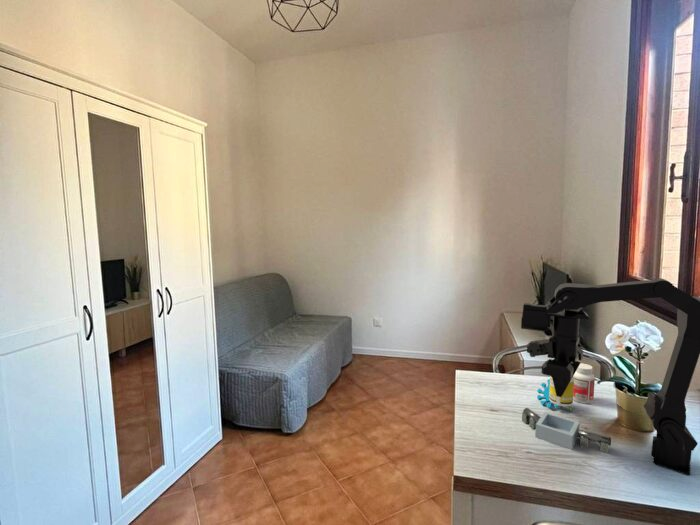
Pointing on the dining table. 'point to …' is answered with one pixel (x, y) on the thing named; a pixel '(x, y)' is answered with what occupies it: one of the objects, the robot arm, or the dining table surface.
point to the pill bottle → (584, 384)
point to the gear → (547, 396)
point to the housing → (557, 430)
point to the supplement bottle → (566, 397)
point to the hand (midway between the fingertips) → (561, 392)
